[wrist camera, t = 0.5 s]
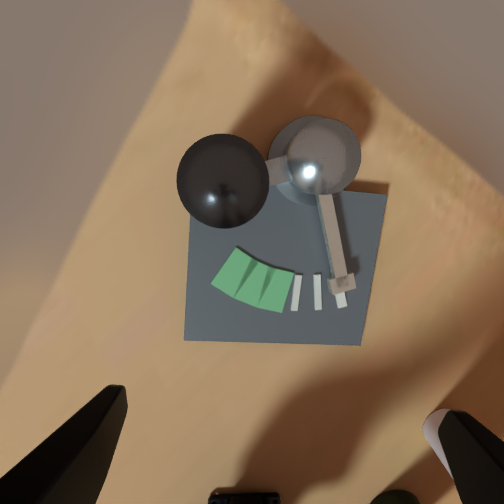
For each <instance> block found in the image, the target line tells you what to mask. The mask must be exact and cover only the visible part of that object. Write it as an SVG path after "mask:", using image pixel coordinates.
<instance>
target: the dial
mask: <svg viewBox="0 0 504 504" xmlns="http://www.w3.org/2000/svg"><path fill="white" fill-rule="evenodd" d="M360 163H361V148H360V144H359V141H358V139H357V137H356V135H355V133H354V132H353V131H352V130H351V128H350V127H348V126H347V125H346V124H344V123H343V122H340V121H338V120H334V119H320V120H317V121H314V122H312V123H310V124H308V125H307V126H306V127H304V128H303V129H302V130H300V131H299V132H297V133H296V134H295V135H294V136H293V137H292V138H291V139H290V140H289V142H288V143H287V145H286V147H285V149H284V152H283V156H282V157H278V158H274V159H271V160H267V161H264V159H263V157H262V156H261V154H260V153H259V152H258V150H257V149H256V148H255V147H254V146H253V145H252V144H250V143H249V142H248V141H246V140H244V139H242V138H240V137H237V136H234V135H230V134H214V135H210V136H207V137H204V138H202V139H200V140H198V141H197V142H195V143H194V144H193V145H192V146H191V147H190V148H189V149H188V150H187V151H186V152H185V154H184V156H183V157H182V159H181V161H180V164H179V167H178V171H177V189H178V194H179V197H180V199H181V201H182V203H183V205H184V207H185V208H186V210H187V211H188V212H189V213H190V214H191V215H192V216H193V217H194V218H195V219H196V220H198V221H199V222H201V223H203V224H205V225H207V226H210V227H214V228H220V229H228V228H234V227H238V226H241V225H243V224H245V223H247V222H248V221H250V220H251V219H253V218H254V217H255V216H256V215H257V214H258V213H259V212H260V210H261V209H262V207H263V205H264V203H265V201H266V199H267V196H268V192H269V186H273V185H277V184H280V183H284V182H289V183H290V185H291V186H292V187H294V188H295V189H296V190H298V191H300V192H302V193H305V194H313V195H315V196H316V201H317V206H318V211H319V216H320V220H321V225H322V230H323V235H324V240H325V245H326V249H327V254H328V259H329V264H330V269H331V273H332V276H328V277H326V279H327V284H328V288H329V292H330V293H331V294H332V295H335V294H339V293H342V292H345V291H349V290H352V289H356V284H355V278H354V273H353V272H351V271H347V269H346V264H345V259H344V254H343V249H342V244H341V239H340V233H339V228H338V223H337V218H336V213H335V208H334V203H333V197H332V194H334V193H337V192H339V191H341V190H343V189H344V188H346V187H347V186H348V185H349V184H350V183H351V182H352V181H353V179H354V178H355V176H356V174H357V172H358V170H359V167H360Z"/></svg>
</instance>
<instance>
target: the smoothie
mask: <svg viewBox="0 0 504 504" xmlns="http://www.w3.org/2000/svg"><path fill="white" fill-rule="evenodd" d="M449 410H451V409H439V410H437V411H435V412H433V413H432V414H430V415H429V416H428V417H427V419H426V420H425V422H424V425H423V434H424V436H425V438H426V439H427V441H428V442H429V444H430V445H431V447H432V448H433V450H434V451H435V453H436V454H437V456H438V457H439V459H440V460H441V462H442V463H443V465H444V466H445V468H446V469H447V471H448V472H449V474H450V475H451V477H452V474H451V471H450V468H449V466H448V463H447V460H446V457H445V454H444V451H443V449H442V446H441V443H440V440H439V437H438V427H439V425H440V424H441V422H442V420H443V418H444V416H445V414H446V413H447V411H449ZM452 479H453V477H452Z"/></svg>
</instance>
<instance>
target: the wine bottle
mask: <svg viewBox="0 0 504 504" xmlns="http://www.w3.org/2000/svg"><path fill="white" fill-rule="evenodd" d="M371 504H420V502H419V501H418V499H417V498H416V497H415V496H414V495H413V494H412V493H410V492H408V491H404V490H393V491H389V492H386V493H384V494H382V495H380V496H379V497H377V498H376V499H375V500H374V501H373V502H372V503H371Z"/></svg>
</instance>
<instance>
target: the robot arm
mask: <svg viewBox="0 0 504 504" xmlns="http://www.w3.org/2000/svg"><path fill="white" fill-rule="evenodd" d="M127 409H128V404H127V396H126V389H125V387H124V386H123V385H113V384H112V385H108V386H107V387H105V388H104V389H103V390H102V391H101V392H99V393H98V394H97V395H96V396H95V397H94V398H93V399H91V400H90V401H89V402H88V403H87V404H86V405H84V406H83V407H82V408H81V409H80V410H79V411H78V412H76V413H75V414H74V415H73V416H72V417H71V418H69V419H68V420H67V421H66V422H65V423H64V424H63V425H61V426H60V427H59V428H58V429H57V430H56V431H54V432H53V433H52V434H51V435H50V436H49V437H48V438H46V439H45V440H44V441H43V442H42V443H41V444H39V445H38V446H37V447H36V448H35V449H34V450H33V451H31V452H30V453H29V454H28V455H27V456H26V457H24V458H23V459H22V460H21V461H20V462H19V463H18V464H16V465H15V466H14V467H13V468H12V469H11V470H9V471H8V472H7V473H6V474H5V475H4V476H3V477H1V478H0V504H95V503H96V501H97V499H98V496H99V494H100V491H101V489H102V487H103V484H104V482H105V479H106V476H107V474H108V471H109V468H110V465H111V461H112V458H113V455H114V452H115V449H116V446H117V443H118V439H119V436H120V433H121V430H122V427H123V424H124V421H125V418H126V414H127ZM438 437H439V440H440V443H441V446H442V449H443V451H444V454H445V457H446V460H447V463H448V466H449V468H450V471H451V474H452V477H453V480H454V483H455V485H456V488H457V491H458V494H459V496H460V499H461V501H462V504H504V442H503V441H502V440H501V439H500V438H498V437H497V436H496V435H495V434H493V433H492V432H491V431H490V430H488V429H487V428H486V427H485V426H483V425H482V424H481V423H480V422H478V421H477V420H476V419H475V418H473V417H472V416H471V415H470V414H468V413H467V412H465V411H461V410H449V411H447V413H446V414H445V416H444V418H443V420H442V422H441V424H440V425H439V427H438ZM280 502H281V501H280V495H279V494H278V493H254V494H226V495H212V496H210V497H209V499H208V504H280Z"/></svg>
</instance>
